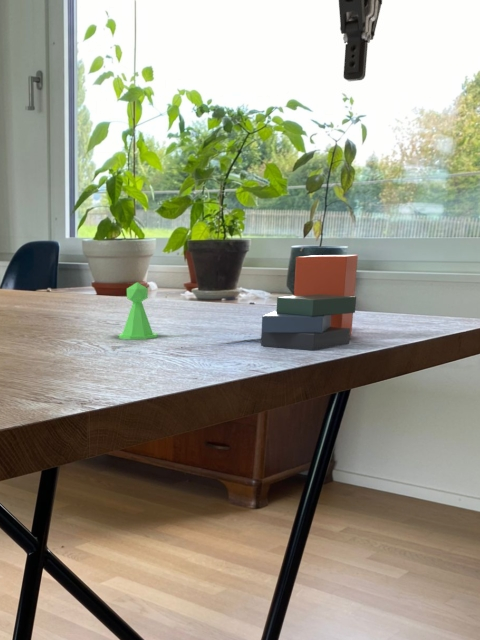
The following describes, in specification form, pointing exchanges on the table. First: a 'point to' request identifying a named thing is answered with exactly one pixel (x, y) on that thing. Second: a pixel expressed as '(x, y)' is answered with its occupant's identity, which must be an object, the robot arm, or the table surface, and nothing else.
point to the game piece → (137, 315)
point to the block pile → (307, 322)
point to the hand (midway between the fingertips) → (354, 79)
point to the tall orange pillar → (327, 280)
